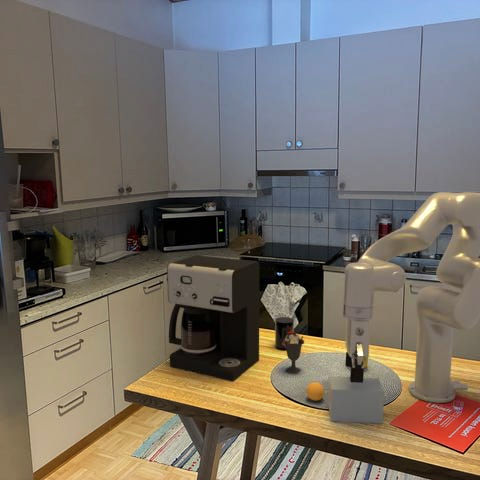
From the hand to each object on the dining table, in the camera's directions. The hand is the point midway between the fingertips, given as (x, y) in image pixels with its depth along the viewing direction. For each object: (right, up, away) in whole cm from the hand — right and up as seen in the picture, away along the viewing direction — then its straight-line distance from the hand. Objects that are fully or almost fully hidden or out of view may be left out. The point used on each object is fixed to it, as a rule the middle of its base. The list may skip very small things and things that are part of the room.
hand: (353, 374), depth 127 cm
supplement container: (-14, -4, +50) cm, 52 cm away
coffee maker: (-40, -6, +36) cm, 55 cm away
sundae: (-13, -7, +30) cm, 33 cm away
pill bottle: (+9, -7, +32) cm, 34 cm away
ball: (-9, -8, +10) cm, 15 cm away
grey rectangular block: (+1, -11, +2) cm, 12 cm away
